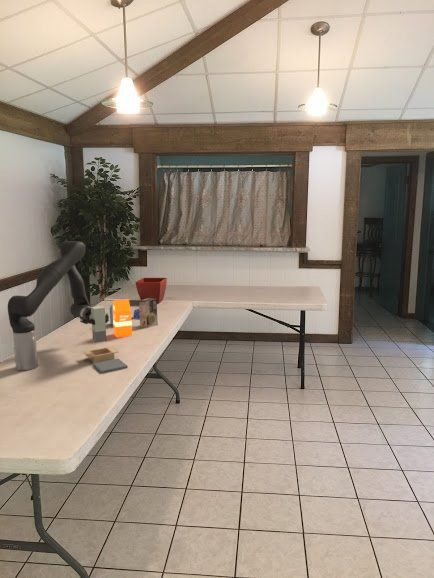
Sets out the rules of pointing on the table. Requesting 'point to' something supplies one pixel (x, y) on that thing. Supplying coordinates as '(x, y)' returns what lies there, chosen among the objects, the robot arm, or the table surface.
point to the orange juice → (122, 318)
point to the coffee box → (148, 312)
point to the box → (98, 323)
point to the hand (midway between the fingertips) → (100, 321)
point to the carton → (101, 354)
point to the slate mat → (110, 365)
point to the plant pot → (151, 288)
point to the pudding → (136, 314)
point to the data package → (111, 315)
